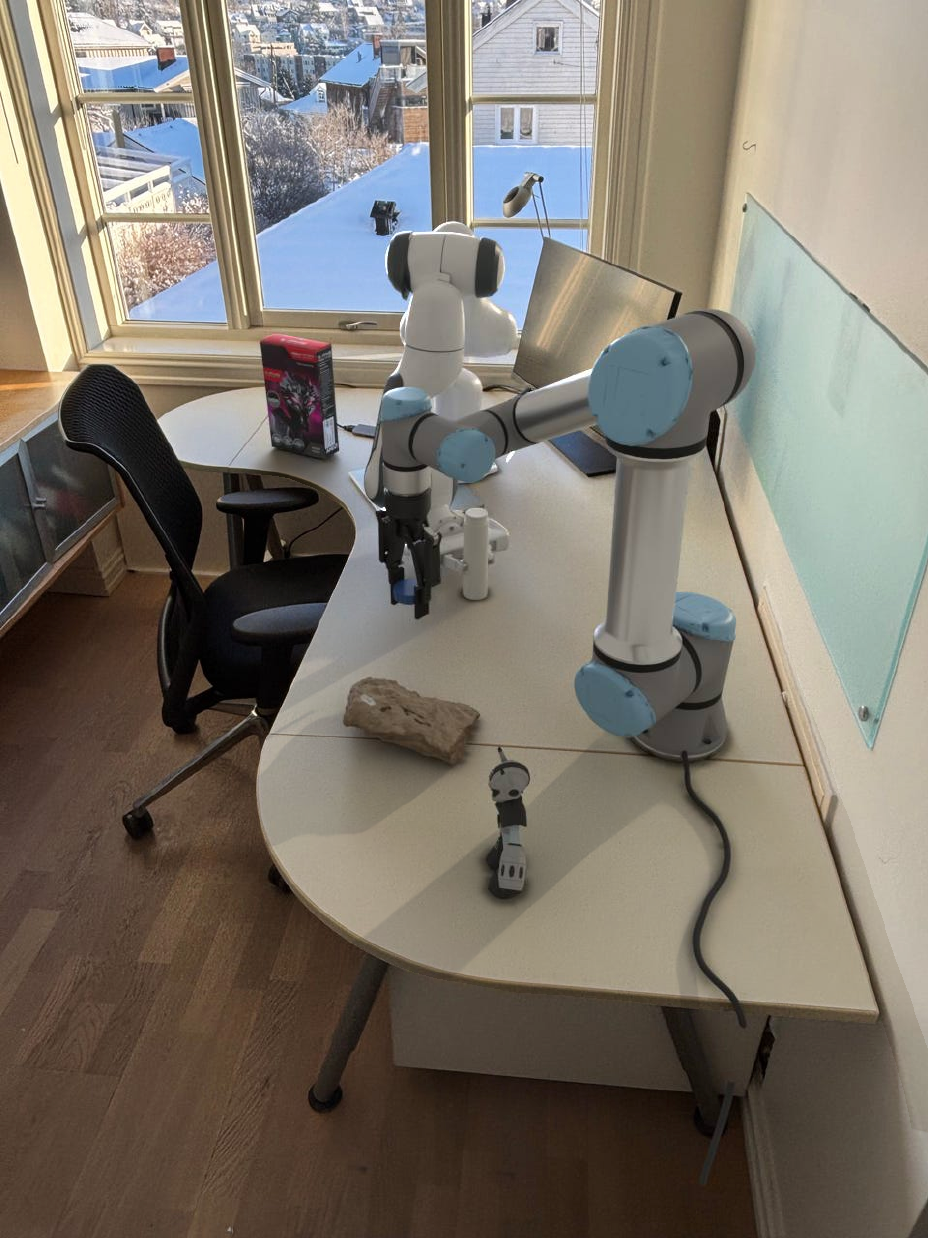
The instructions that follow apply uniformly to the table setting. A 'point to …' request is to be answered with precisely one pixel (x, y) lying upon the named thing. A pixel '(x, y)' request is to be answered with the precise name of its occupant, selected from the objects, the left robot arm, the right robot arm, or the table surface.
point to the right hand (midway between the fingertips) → (409, 608)
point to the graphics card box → (300, 395)
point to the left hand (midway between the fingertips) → (478, 564)
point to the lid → (404, 591)
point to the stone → (410, 718)
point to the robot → (508, 827)
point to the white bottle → (476, 553)
